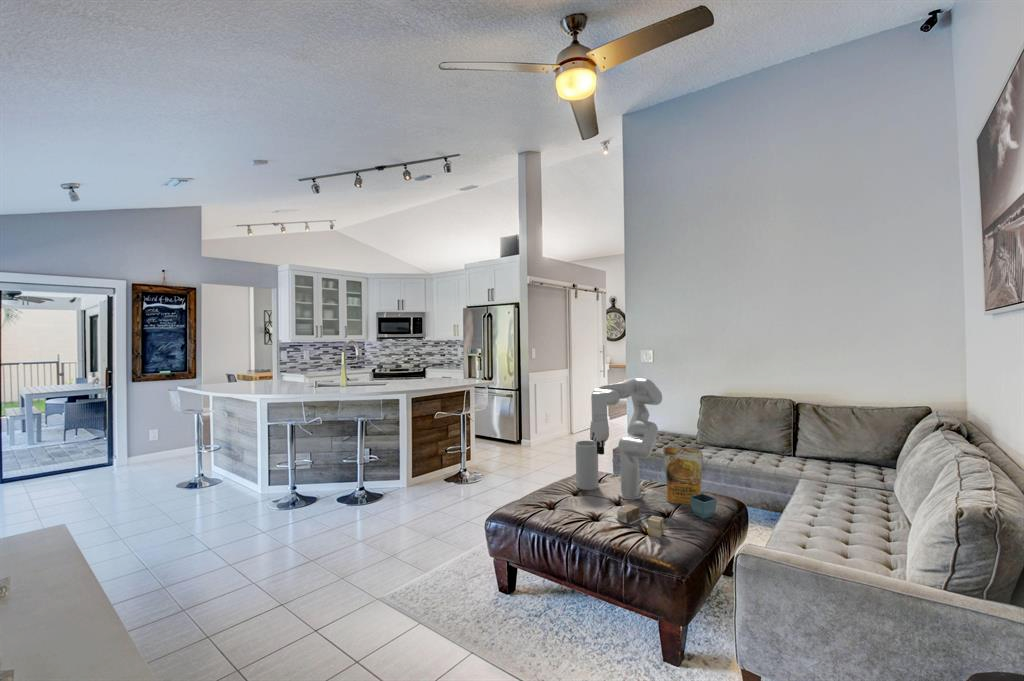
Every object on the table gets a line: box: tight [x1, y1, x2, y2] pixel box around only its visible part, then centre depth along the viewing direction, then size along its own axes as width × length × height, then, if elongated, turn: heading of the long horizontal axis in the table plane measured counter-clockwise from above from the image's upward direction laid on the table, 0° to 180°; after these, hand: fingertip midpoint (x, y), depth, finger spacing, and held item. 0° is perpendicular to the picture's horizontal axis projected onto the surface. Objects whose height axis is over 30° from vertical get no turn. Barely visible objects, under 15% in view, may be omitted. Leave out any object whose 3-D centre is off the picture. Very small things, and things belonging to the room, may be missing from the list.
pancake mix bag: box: [662, 446, 704, 506], centre depth 248 cm, size 7×19×28 cm, turn 69°
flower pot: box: [690, 493, 718, 519], centre depth 230 cm, size 9×9×9 cm
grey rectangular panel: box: [614, 513, 647, 525], centre depth 231 cm, size 12×9×1 cm
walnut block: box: [616, 503, 640, 524], centre depth 229 cm, size 5×5×10 cm
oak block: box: [647, 515, 664, 538], centre depth 213 cm, size 5×5×7 cm
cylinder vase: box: [575, 440, 600, 491], centre depth 274 cm, size 12×12×25 cm
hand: (600, 453), depth 239 cm, fingers closed
